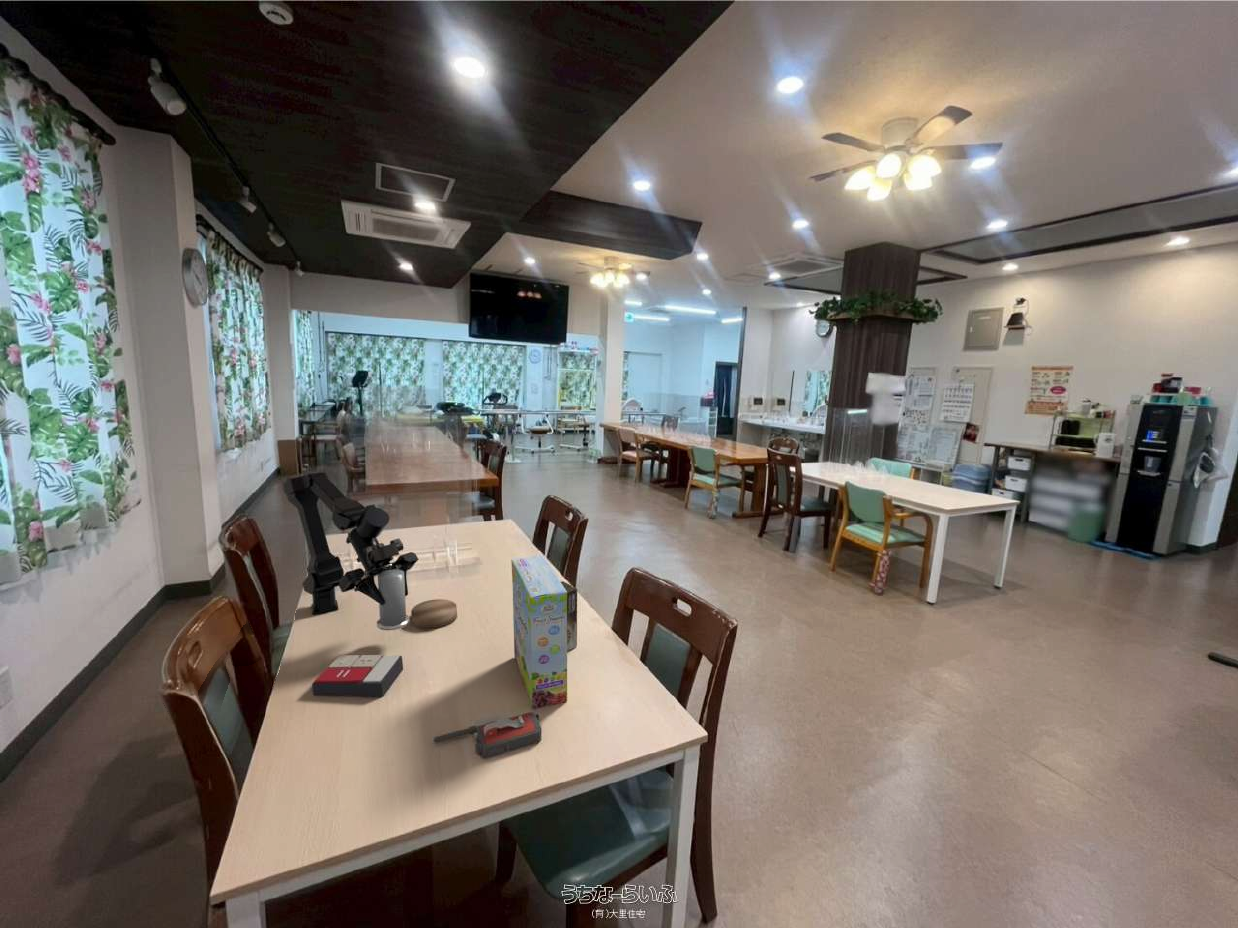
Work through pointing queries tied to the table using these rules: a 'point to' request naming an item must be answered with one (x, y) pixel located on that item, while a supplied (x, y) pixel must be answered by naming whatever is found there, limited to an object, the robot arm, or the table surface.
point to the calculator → (359, 676)
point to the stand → (434, 614)
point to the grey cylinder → (392, 600)
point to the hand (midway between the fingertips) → (395, 599)
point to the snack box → (540, 630)
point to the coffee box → (571, 615)
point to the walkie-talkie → (501, 734)
